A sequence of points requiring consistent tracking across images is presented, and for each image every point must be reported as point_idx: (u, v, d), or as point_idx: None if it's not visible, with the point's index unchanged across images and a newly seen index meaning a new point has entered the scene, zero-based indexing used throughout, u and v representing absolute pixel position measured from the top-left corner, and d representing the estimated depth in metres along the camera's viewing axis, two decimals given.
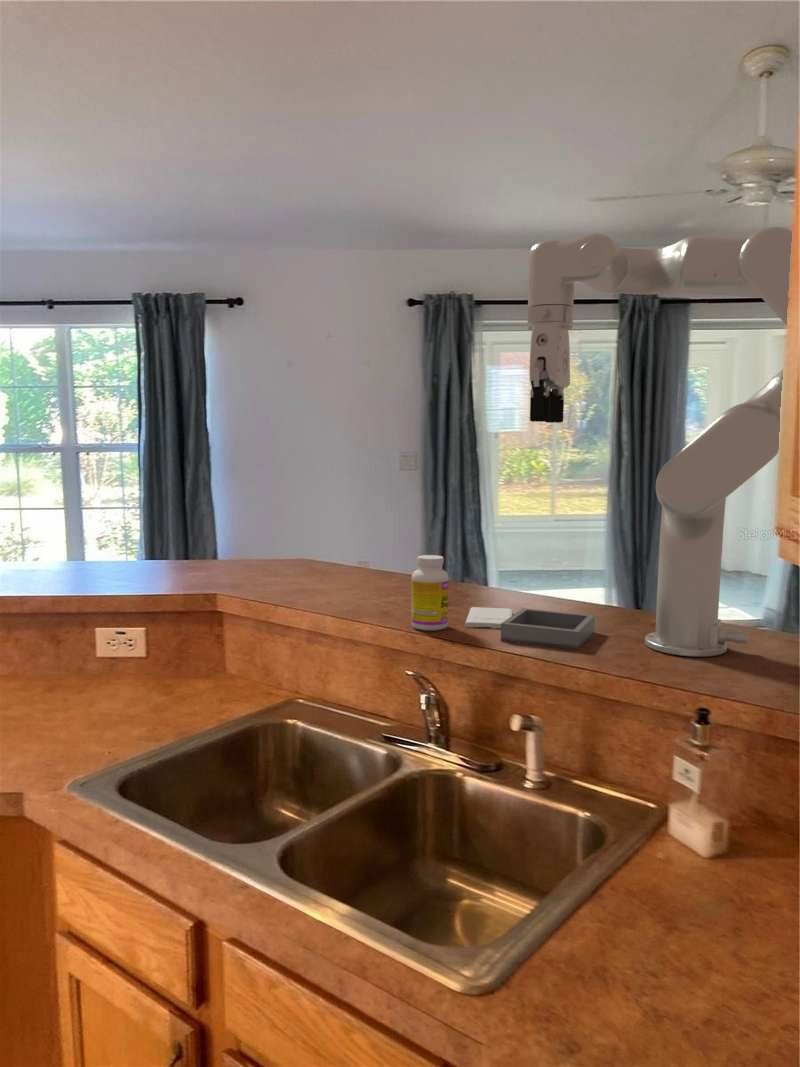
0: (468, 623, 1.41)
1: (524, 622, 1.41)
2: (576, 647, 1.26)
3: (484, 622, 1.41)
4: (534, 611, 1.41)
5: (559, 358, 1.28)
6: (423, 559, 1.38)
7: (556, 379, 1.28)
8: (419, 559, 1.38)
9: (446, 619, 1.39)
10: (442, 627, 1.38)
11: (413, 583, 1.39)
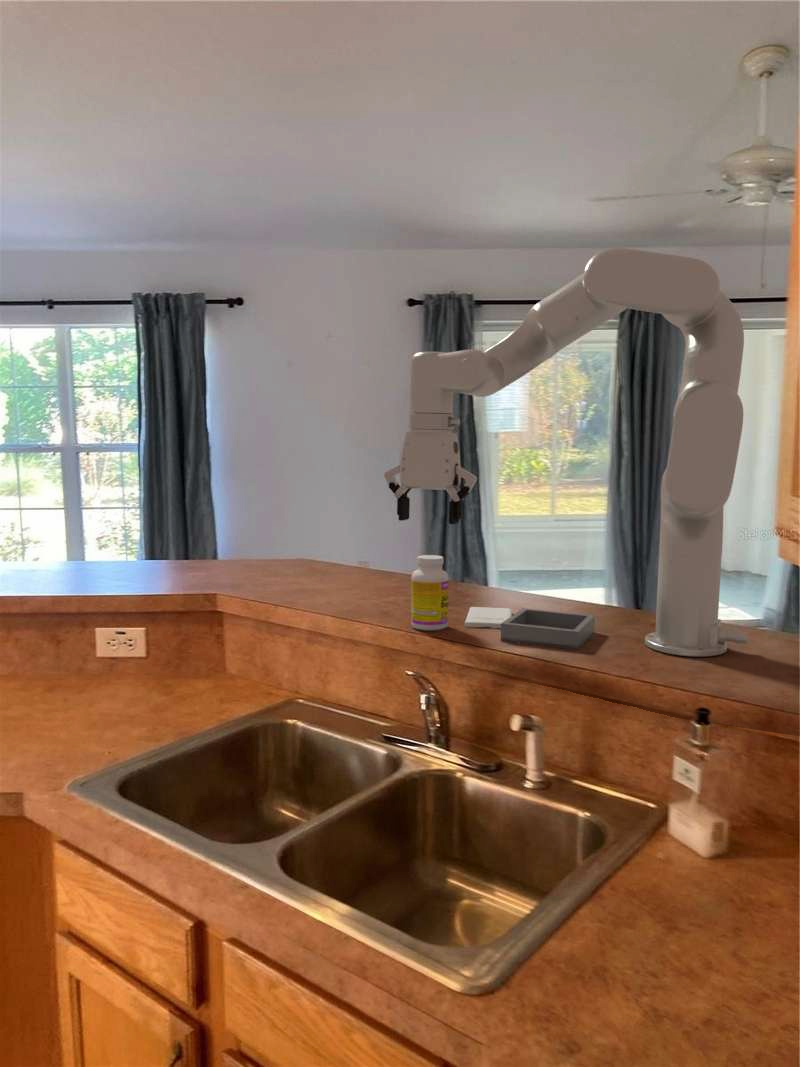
0: (467, 623, 1.41)
1: (524, 622, 1.41)
2: (576, 647, 1.26)
3: (483, 622, 1.41)
4: (534, 611, 1.41)
5: None
6: (423, 559, 1.38)
7: (459, 484, 1.38)
8: (419, 559, 1.38)
9: (446, 619, 1.39)
10: (442, 627, 1.38)
11: (413, 583, 1.39)
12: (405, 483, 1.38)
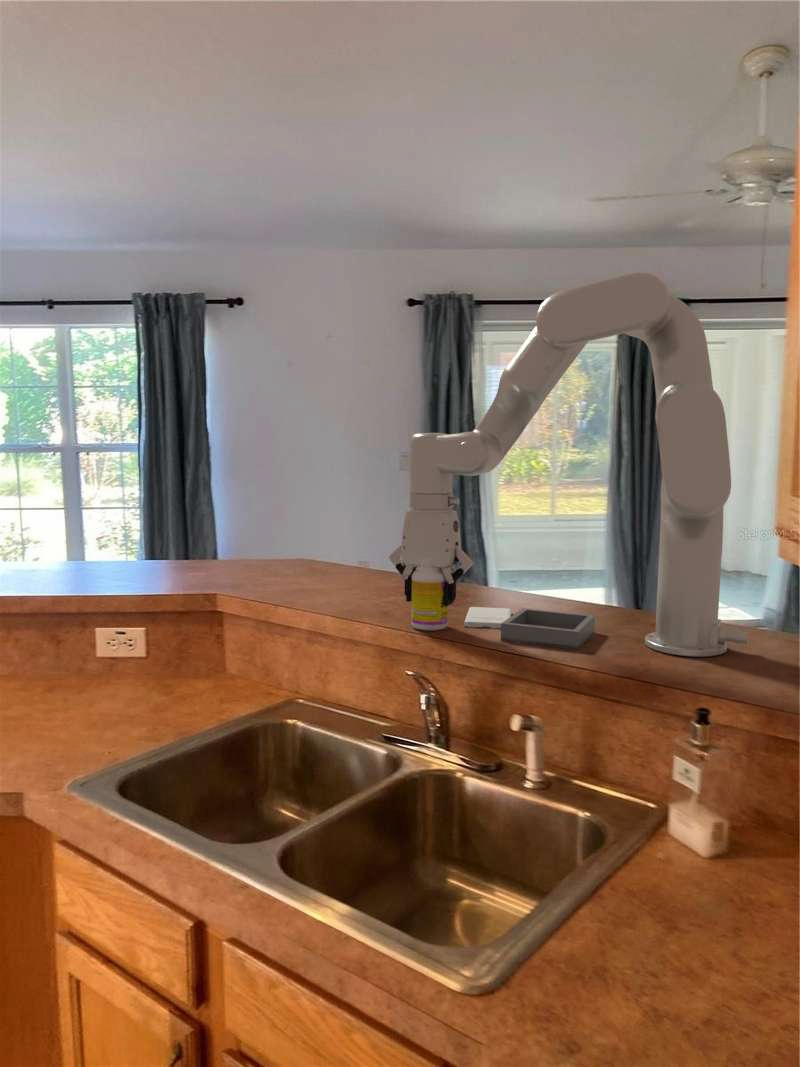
0: (467, 623, 1.41)
1: (524, 622, 1.41)
2: (576, 647, 1.26)
3: (483, 622, 1.41)
4: (534, 611, 1.41)
5: None
6: (423, 559, 1.38)
7: None
8: None
9: (446, 619, 1.39)
10: (442, 627, 1.38)
11: (413, 583, 1.39)
12: (406, 561, 1.39)
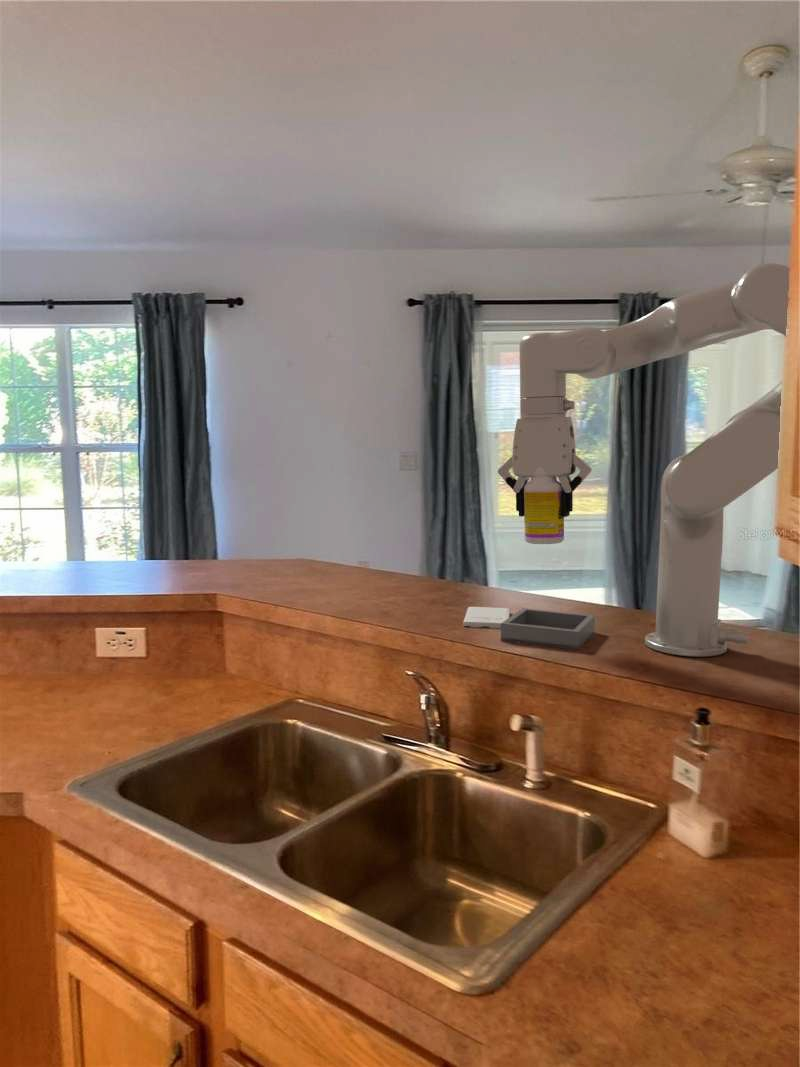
0: (466, 623, 1.41)
1: (524, 622, 1.41)
2: (576, 647, 1.26)
3: (482, 622, 1.41)
4: (534, 611, 1.41)
5: None
6: (537, 468, 1.30)
7: (574, 470, 1.32)
8: None
9: (563, 532, 1.31)
10: (559, 540, 1.31)
11: (527, 495, 1.31)
12: (518, 472, 1.31)
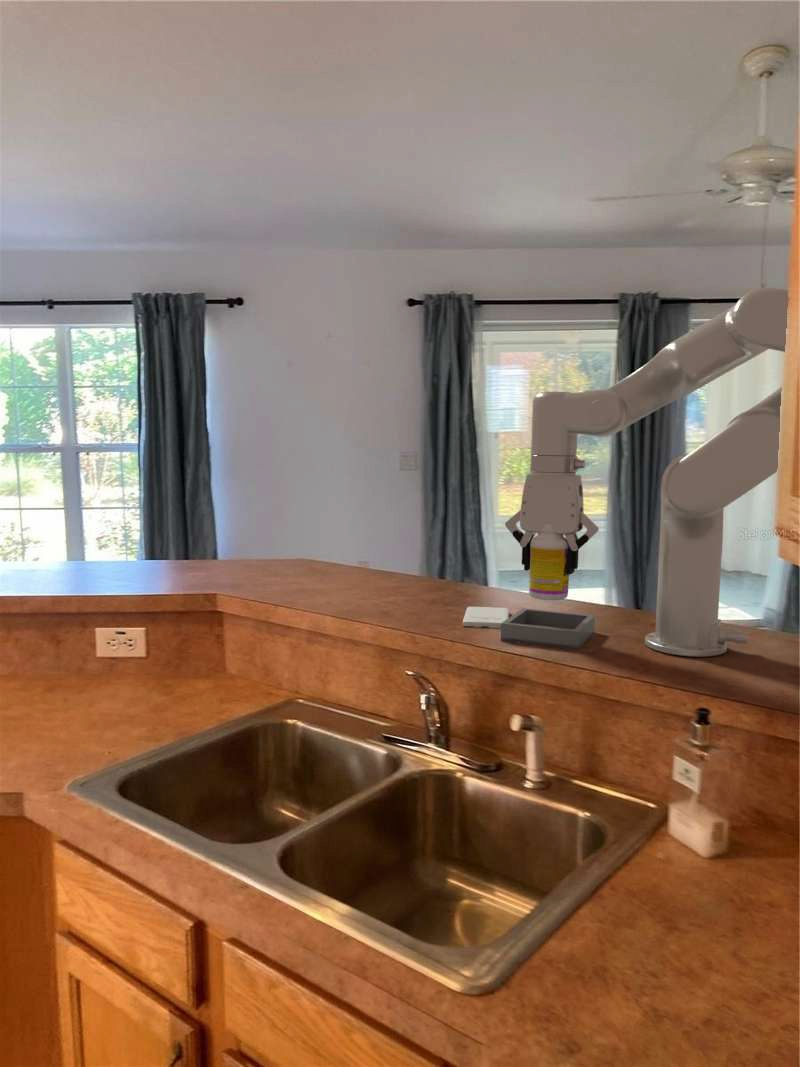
0: (465, 623, 1.41)
1: (524, 622, 1.41)
2: (576, 647, 1.26)
3: (481, 621, 1.41)
4: (534, 611, 1.41)
5: None
6: (545, 525, 1.31)
7: (581, 527, 1.33)
8: None
9: (567, 588, 1.32)
10: (563, 597, 1.31)
11: (533, 550, 1.32)
12: (526, 527, 1.32)
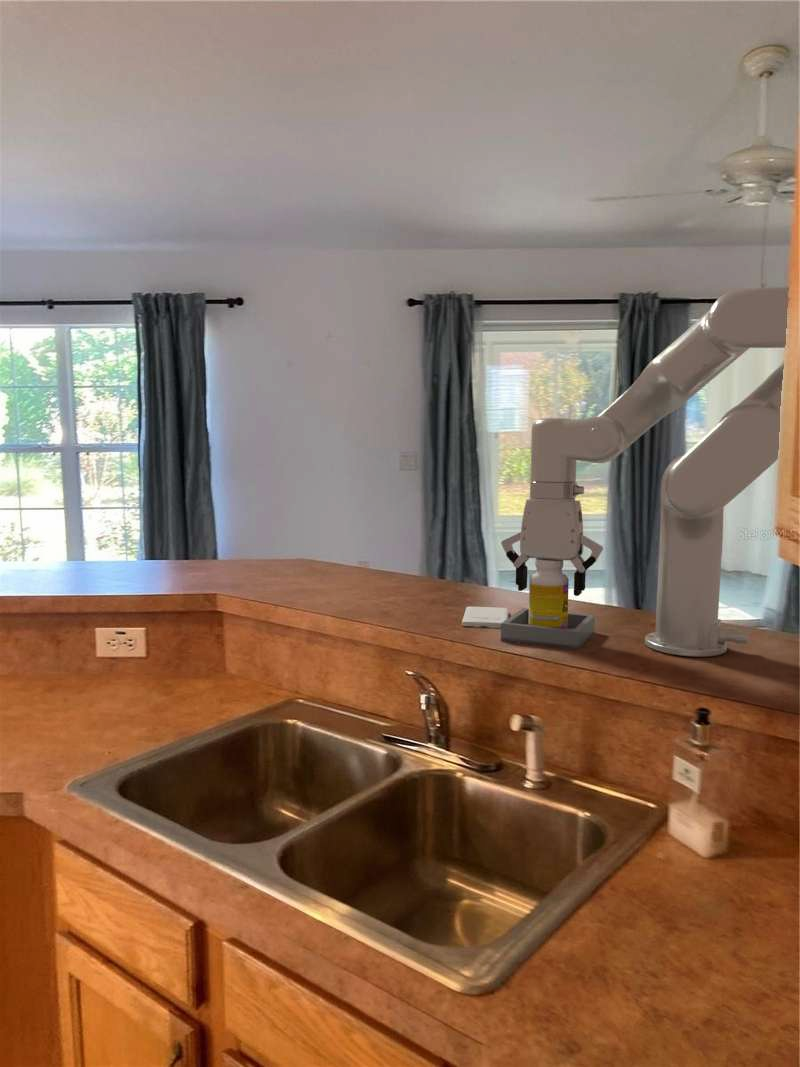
0: (464, 623, 1.41)
1: (524, 622, 1.41)
2: (576, 647, 1.26)
3: (480, 621, 1.41)
4: None
5: None
6: (543, 561, 1.31)
7: (581, 552, 1.33)
8: (538, 561, 1.32)
9: (566, 624, 1.33)
10: None
11: (532, 587, 1.33)
12: (526, 553, 1.33)
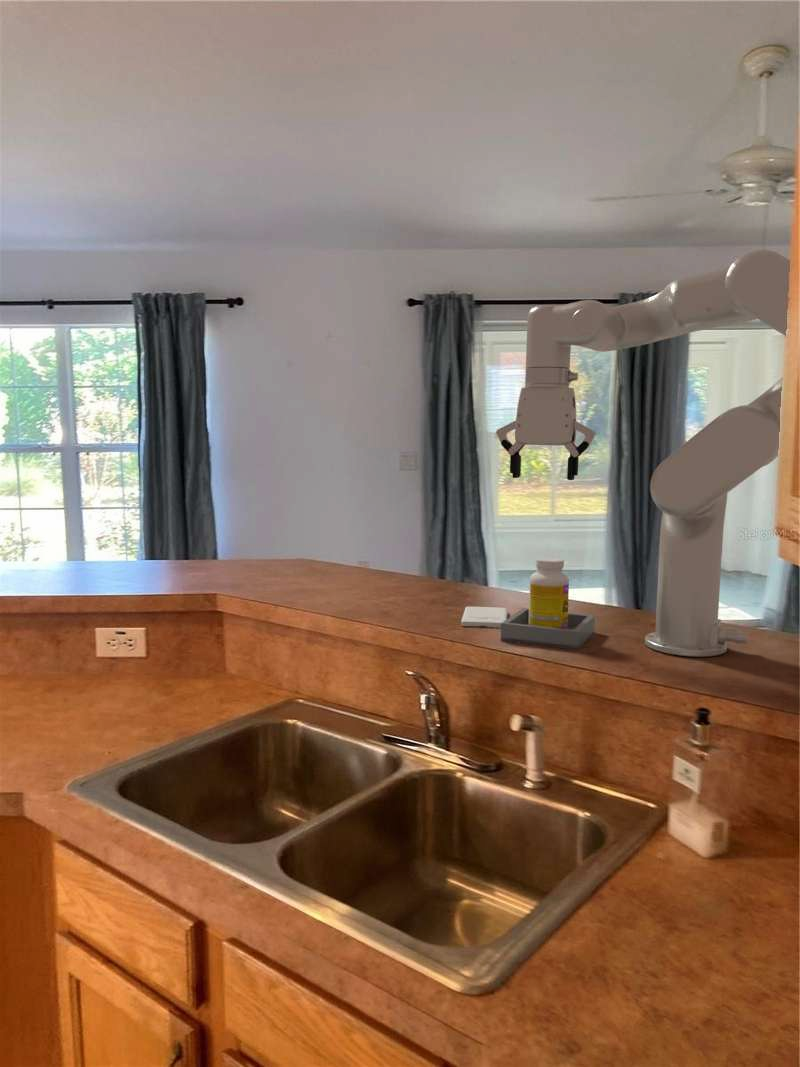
0: (464, 622, 1.42)
1: (524, 622, 1.41)
2: (576, 647, 1.26)
3: (479, 621, 1.42)
4: None
5: None
6: (544, 562, 1.31)
7: (574, 440, 1.37)
8: (539, 562, 1.32)
9: (566, 624, 1.33)
10: None
11: (532, 587, 1.32)
12: (521, 439, 1.36)
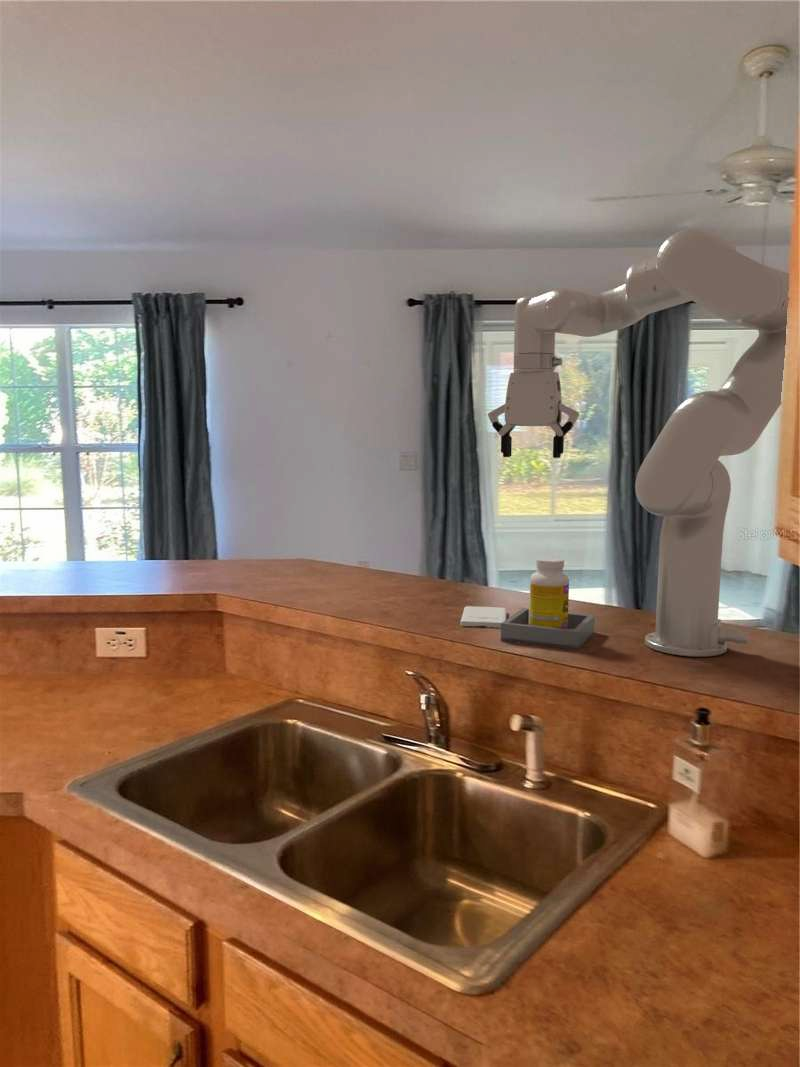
0: (463, 622, 1.42)
1: (524, 622, 1.41)
2: (576, 647, 1.26)
3: (479, 621, 1.42)
4: None
5: None
6: (544, 562, 1.31)
7: (560, 421, 1.47)
8: (539, 561, 1.32)
9: (566, 624, 1.33)
10: None
11: (533, 587, 1.32)
12: (510, 421, 1.47)
